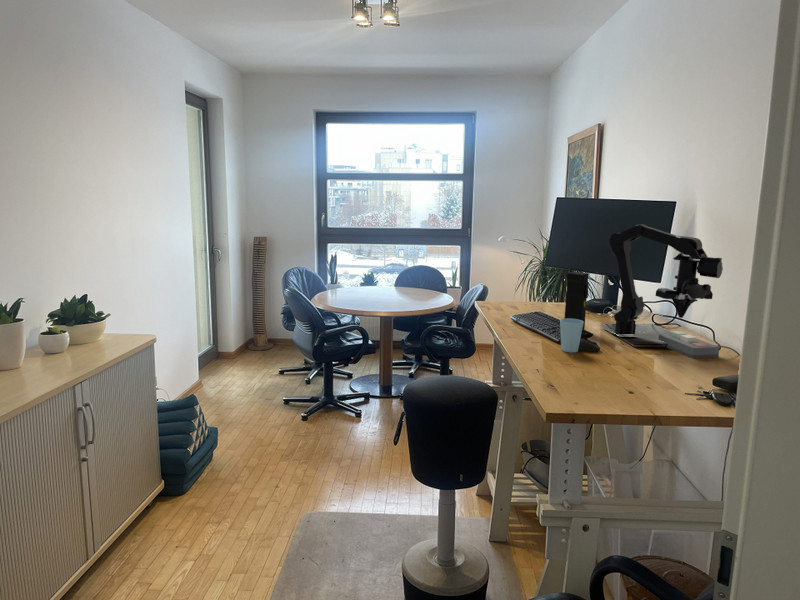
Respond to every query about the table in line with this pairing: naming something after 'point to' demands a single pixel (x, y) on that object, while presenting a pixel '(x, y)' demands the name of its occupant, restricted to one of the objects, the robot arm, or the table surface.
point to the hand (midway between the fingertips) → (680, 317)
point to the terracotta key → (699, 344)
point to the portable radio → (576, 296)
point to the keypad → (690, 347)
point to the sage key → (676, 334)
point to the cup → (570, 334)
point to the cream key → (688, 338)
